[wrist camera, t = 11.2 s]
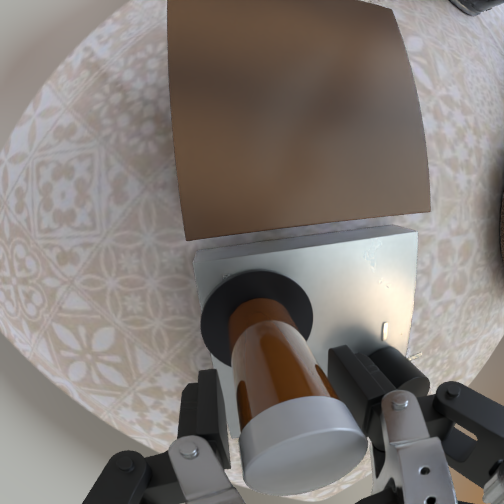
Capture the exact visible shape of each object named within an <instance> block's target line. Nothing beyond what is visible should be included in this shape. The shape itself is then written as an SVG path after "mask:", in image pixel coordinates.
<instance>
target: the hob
mask: <svg viewBox="0 0 504 504" xmlns="http://www.w3.org/2000/svg"><path fill="white" fill-rule="evenodd" d="M417 253H418V231H415V230H412V229H408V228H404V227H400V226H396V225H387V226H379V227H371V228H363V229H355V230H347V231H339V232H332V233H324V234H316V235H308V236H301V237H293V238H286V239H278V240H270V241H263V242H256V243H248V244H241V245H234V246H226V247H219V248H212V249H205V250H197V251H196V254H195V257H194V261H193V269H194V275H195V280H196V286H197V291H198V297H199V302H200V307H201V312H202V310H203V307H204V304H205V302H206V300H207V298H208V297H209V295H210V294H211V292H212V291H213V290H214V289H215V288H216V287H217V286H218V285H219V284H220V283H221V282H223V281H224V280H226V279H227V278H229V277H231V276H233V275H235V274H238V273H241V272H243V271H248V270H256V269H266V270H272V271H277V272H280V273H282V274H285V275H287V276H289V277H290V278H292V279H293V280H295V281H296V282H297V283H298V284H299V285H300V286H301V287H302V288H303V290H304V291H305V292H306V294H307V295H308V297H309V299H310V302H311V305H312V309H313V326H312V330H311V333H310V336H309V338H308V340H307V344H308V346H309V347H310V349H311V351H312V353H313V354H314V356H315V358H316V359H317V361H318V363H319V364H320V366H321V368H322V369H323V371H324V373H325V375H326V376H327V371H328V350H329V348H333V347H337V346H341V345H345V344H346V345H347V346H348V347H349V348H350V349H351V350H352V352H353V353H358V352H360V353H362V354H364V355H366V356H368V357H369V356H370V355H371V354H373V353H374V352H376V351H378V350H380V349H382V348H387V347H392V348H396V349H397V350H398V351H400V352H401V353H402V354H403V355H404V356H405V357H406V353H407V347H408V341H409V335H410V329H411V322H412V314H413V306H414V297H415V286H416V273H417ZM210 355H211V359H212V364H213V368H214V369H217V371H218V375H219V380H220V384H221V388H222V392H223V397H224V402H225V410H226V420H227V424H228V427H229V431H230V435H231V438H232V439H233V438H239V437H240V430H239V422H238V415H237V407H236V399H235V391H234V383H233V374H232V367H229V366H227V365H225V364H223V363H222V362H220V361H219V360H218V359H217V358H215V357H214V356H213V355H212V354H211V352H210ZM421 355H422V353H421V352H420V353H417V354H415V355H412V356H410V357H408V360H409V361H411V360H414V359H416V358H419V357H421Z"/></svg>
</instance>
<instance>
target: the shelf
mask: <svg viewBox="0 0 504 504" xmlns="http://www.w3.org/2000/svg"><path fill="white" fill-rule="evenodd" d="M167 43H168V72H169V91H170V106H171V120H172V132H173V142H174V153H175V162H176V171H177V180H178V188H179V196H180V203H181V211H182V218H183V225H184V231H185V238H186V241H192V240H199V239H206V238H213V237H220V236H228V235H235V234H242V233H250V232H258V231H265V230H273V229H281V228H289V227H297V226H305V225H314V224H322V223H331V222H339V221H348V220H357V219H366V218H375V217H385V216H394V215H404V214H414V213H424V212H430V211H431V206H430V183H429V169H428V159H427V149H426V141H425V134H424V127H423V121H422V115H421V110H420V104H419V99H418V95H417V90H416V86H415V81H414V77H413V73H412V69H411V66H410V62H409V58H408V55H407V52H406V48H405V45H404V42H403V39H402V36H401V33H400V30H399V27H398V24H397V22H396V19H395V16H394V14H393V11H392V9H389V8H385V7H382V6H379V5H375V4H371V3H367V2H363V1H359V0H167Z"/></svg>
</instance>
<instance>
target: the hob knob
mask: <svg viewBox="0 0 504 504" xmlns="http://www.w3.org/2000/svg"><path fill="white" fill-rule="evenodd" d="M369 358H370V359H371V360H372V361H373V362H374V364H375V365H376V366H377V367H378V368H379V369H380V371H381V372H382V373H383V374H384V375H385V376H386V377H387V378H388V380H389V381H390V382H391V383H392V384H393V385H394V387H395V388H396V389H397V390H405V391H408V392H411V393H412V394H414V395H415V396H416V397H423V396H427V394H428V392H429V388H430V382H429V379H428V378H427V377H426V376H425V375H424V374H423V373H422V372H421V371H420V370H419V369H418V368H416V367H415V366H414V365H413V364H412V363H411V362H410V361H409V360H408V359H407V358H406V357H405V356H404V355H403V354H402V353H401V352H400V351H398V350H397V349H396V348H392V347H387V348H382V349H380V350H378V351H376V352H374V353H373V354H371V355H370V356H369Z"/></svg>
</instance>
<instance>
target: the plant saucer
mask: <svg viewBox="0 0 504 504" xmlns="http://www.w3.org/2000/svg"><path fill="white" fill-rule="evenodd" d="M500 240H501V252H502V258H503V262H504V193H503V199H502V208H501V222H500Z"/></svg>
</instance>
